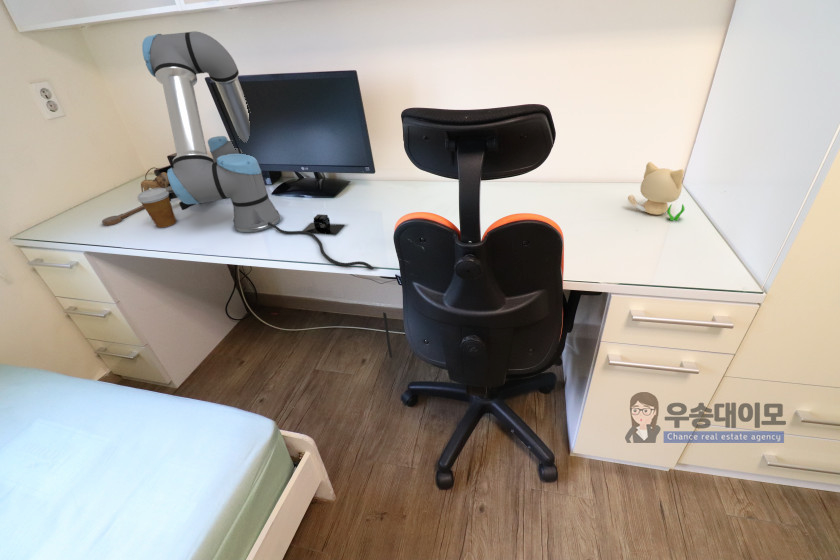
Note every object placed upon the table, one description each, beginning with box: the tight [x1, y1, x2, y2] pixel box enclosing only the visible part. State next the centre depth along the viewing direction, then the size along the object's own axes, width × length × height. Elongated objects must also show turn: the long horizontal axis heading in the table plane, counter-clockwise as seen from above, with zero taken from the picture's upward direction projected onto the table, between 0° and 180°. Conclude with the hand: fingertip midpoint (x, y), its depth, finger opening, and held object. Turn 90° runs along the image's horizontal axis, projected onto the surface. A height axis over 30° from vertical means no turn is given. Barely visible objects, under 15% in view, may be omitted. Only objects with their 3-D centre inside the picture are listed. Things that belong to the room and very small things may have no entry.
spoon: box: [101, 204, 146, 227], centre depth 153 cm, size 6×24×2 cm, turn 159°
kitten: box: [627, 161, 686, 222], centre depth 117 cm, size 15×10×15 cm
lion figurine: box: [140, 172, 170, 192], centre depth 167 cm, size 15×5×9 cm, turn 104°
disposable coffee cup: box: [137, 188, 177, 229], centre depth 138 cm, size 10×10×12 cm
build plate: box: [302, 214, 346, 236], centre depth 128 cm, size 12×7×5 cm, turn 75°
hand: (167, 205), depth 141 cm, fingers open, 13 cm apart
